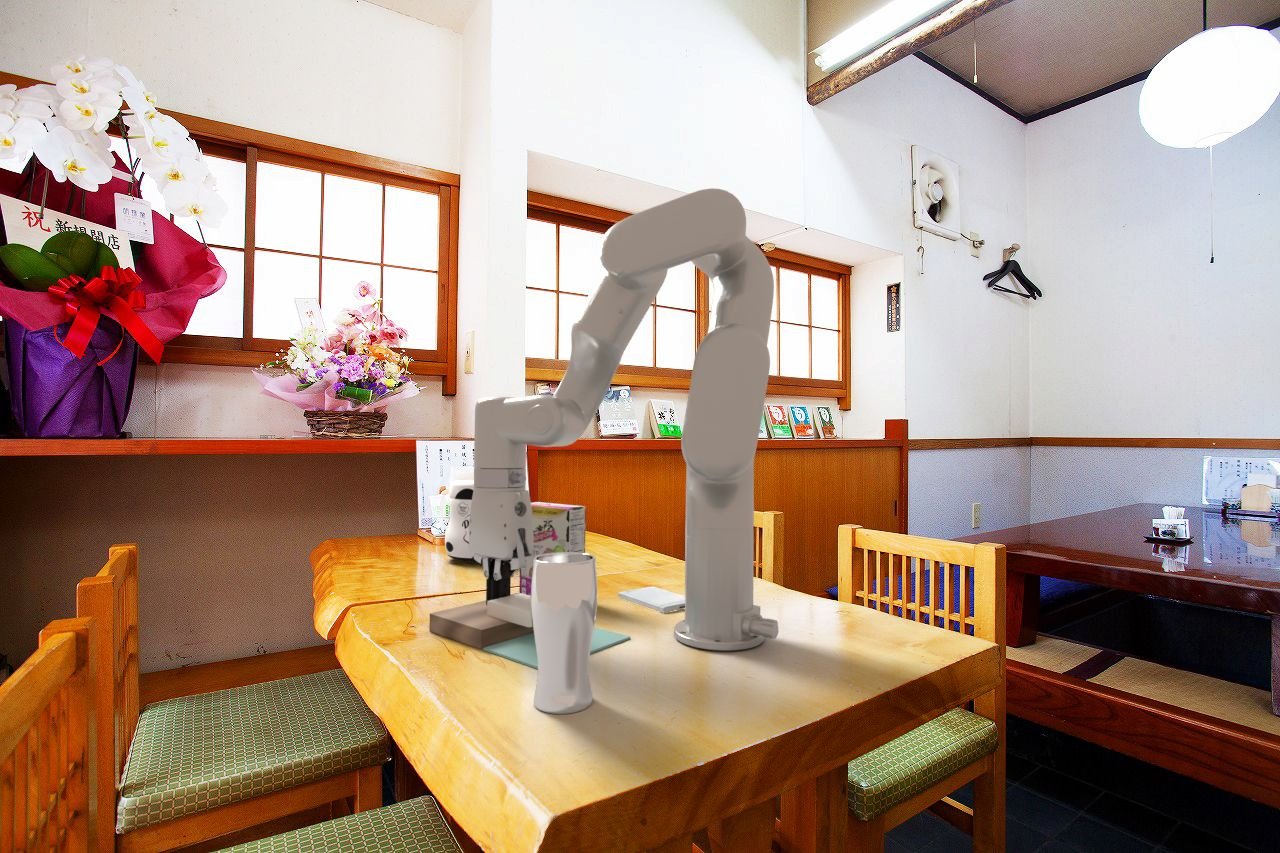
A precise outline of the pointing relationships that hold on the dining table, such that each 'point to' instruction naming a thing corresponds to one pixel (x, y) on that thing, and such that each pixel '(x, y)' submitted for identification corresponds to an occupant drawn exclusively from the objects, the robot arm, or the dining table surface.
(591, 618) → the beer glass
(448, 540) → the doce de leite container
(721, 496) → the robot arm
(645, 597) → the hard drive
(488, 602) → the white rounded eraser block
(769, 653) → the dining table surface
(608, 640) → the mat
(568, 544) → the candy bar box
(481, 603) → the block
